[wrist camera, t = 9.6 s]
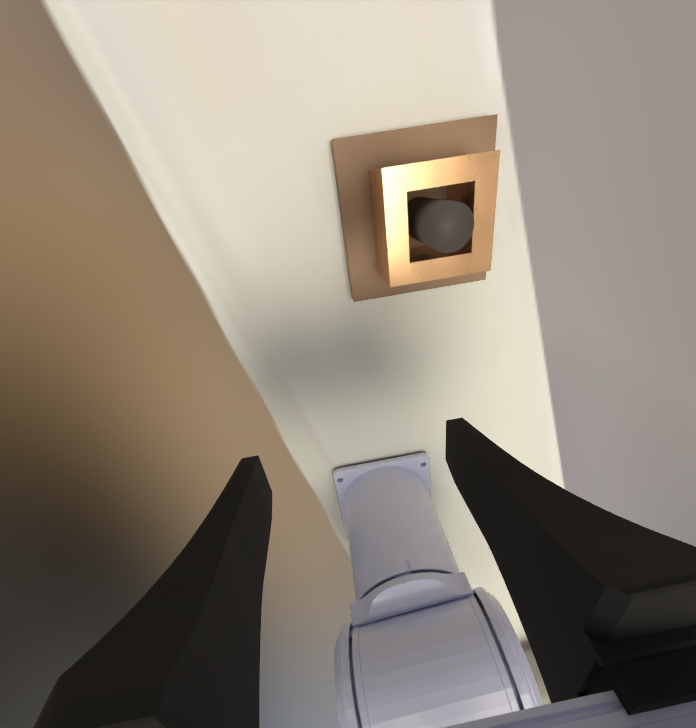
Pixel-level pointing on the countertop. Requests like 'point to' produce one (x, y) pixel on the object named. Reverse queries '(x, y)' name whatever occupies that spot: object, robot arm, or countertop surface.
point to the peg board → (425, 207)
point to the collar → (464, 184)
